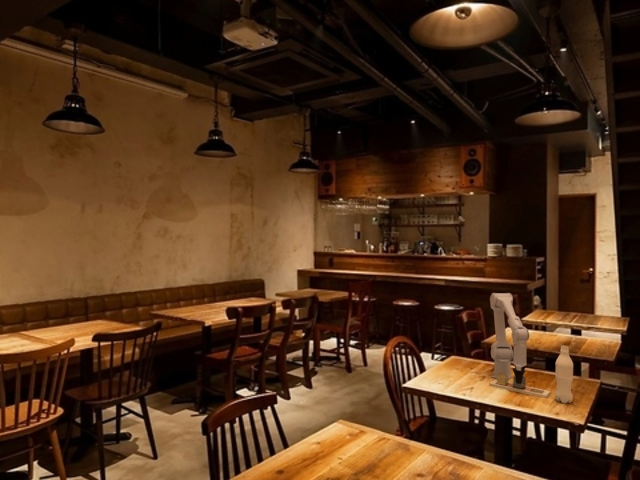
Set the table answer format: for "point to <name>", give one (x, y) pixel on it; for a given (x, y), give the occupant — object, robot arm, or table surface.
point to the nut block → (519, 386)
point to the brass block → (502, 379)
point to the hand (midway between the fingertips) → (519, 381)
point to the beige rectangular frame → (526, 391)
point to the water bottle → (564, 376)
